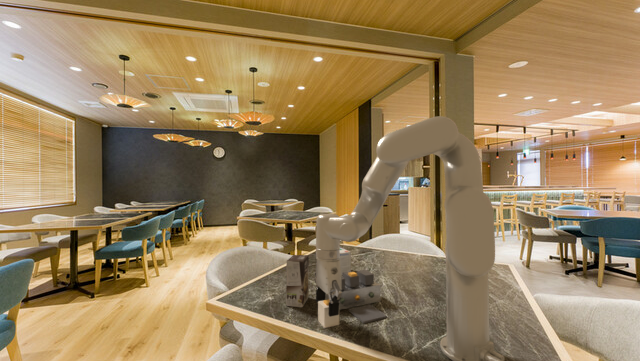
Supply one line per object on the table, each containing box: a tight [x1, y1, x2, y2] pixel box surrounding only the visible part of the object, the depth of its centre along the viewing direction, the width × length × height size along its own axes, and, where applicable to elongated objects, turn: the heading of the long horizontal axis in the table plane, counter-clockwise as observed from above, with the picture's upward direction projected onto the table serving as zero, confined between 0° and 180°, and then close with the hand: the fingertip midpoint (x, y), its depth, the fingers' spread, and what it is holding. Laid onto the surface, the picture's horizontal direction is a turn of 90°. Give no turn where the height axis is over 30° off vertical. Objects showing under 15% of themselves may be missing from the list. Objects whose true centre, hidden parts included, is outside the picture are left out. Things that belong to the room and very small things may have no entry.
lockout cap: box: [317, 299, 340, 329], centre depth 83 cm, size 5×5×7 cm
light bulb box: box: [339, 246, 352, 276], centre depth 132 cm, size 11×7×11 cm, turn 25°
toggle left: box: [341, 275, 345, 290], centre depth 96 cm, size 6×4×4 cm, turn 23°
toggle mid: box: [341, 270, 359, 287], centre depth 99 cm, size 6×4×4 cm, turn 23°
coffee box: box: [285, 254, 310, 308], centre depth 98 cm, size 9×6×16 cm
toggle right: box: [356, 269, 375, 285], centre depth 100 cm, size 6×4×4 cm, turn 23°
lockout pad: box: [348, 304, 388, 324], centre depth 88 cm, size 9×9×1 cm
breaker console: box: [325, 281, 381, 311], centre depth 98 cm, size 8×20×6 cm, turn 113°
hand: (326, 308), depth 84 cm, fingers open, 9 cm apart
